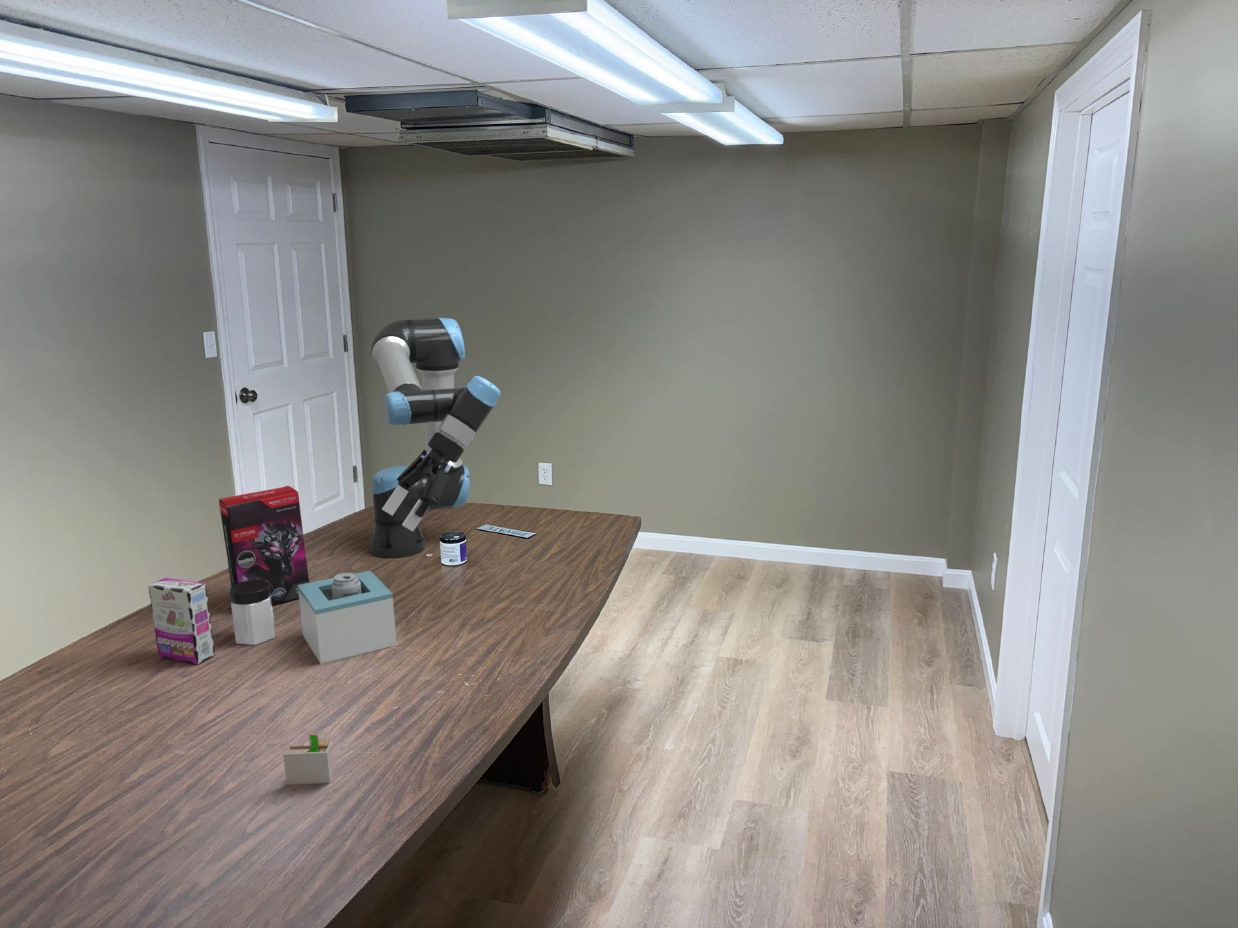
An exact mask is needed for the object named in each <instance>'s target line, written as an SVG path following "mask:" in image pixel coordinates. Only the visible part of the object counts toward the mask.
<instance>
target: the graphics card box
mask: <svg viewBox="0 0 1238 928" xmlns="http://www.w3.org/2000/svg"><path fill="white" fill-rule="evenodd" d="M218 507H219V512H220V517H221V518H220V519H221V525H222V531H223V537H224V538H223V539H224V544H225V551H226V557H227V565H228V572H229V573H228V574H229V580H230V588H231V587H232V586H233V585H235V584H237V583H240V582H244V581H249V580H264V581H267V582H269V584H270V589H271V601H272V606H273V605H277V604H281V603H285V602H287V601H288V602H289V601H293V600H295V599H299V593H298V585H301V584H306V583H310V578H309V570H308V562H307V555H306V545H305V539H304V538H305V537H304V529H303V520H302V514H301V504H300V495H299V491H297V490H296V489H295V488H294V487H292V486H290V485H285V486H282V487H278V488H271V489H267V490H259V491H254V492H249V493H243V494H238V495H233V496H228V497H222V498H219V499H218Z"/></svg>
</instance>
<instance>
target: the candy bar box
mask: <svg viewBox="0 0 1238 928" xmlns="http://www.w3.org/2000/svg"><path fill="white" fill-rule="evenodd" d="M147 586H148V592H149V593H148V594H149V601H150V605H151V611H152V621H153V626H154V634H155V641H156V647H157V648H156V649H157V653H158V658H163V659H168V660H172V661H178V662H183V663H188V664H193V665H199V664H201V663H204V662H205V661H207V660H210V659H212V658H213V657H214V656H216V653H215V645H214V637H213V629H212V621H211V615H210V613H211V612H210V605H209V598H208V591H207V583H206V582H205V583H204V582H197V581H190V580H183V579H176V578H170V577H165V578H162V579H160V580H157V581H155V582H153V583H150V584H147Z"/></svg>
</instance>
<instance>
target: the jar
mask: <svg viewBox="0 0 1238 928" xmlns="http://www.w3.org/2000/svg"><path fill="white" fill-rule="evenodd" d="M229 594H230V601H231V603H230V607H231V615H232V621H233V631H234V638H235V639H234V640H235V644H237V645H250V646H256V645H259V644H262V643H265V642H267V641H271V640H272V639H274V638H275V632H276V631H275V630H276V629H275V620H274V619H275V618H274V609H273V605H272V601H271V589H270V584H269V582H267V581H264V580H249V581H244V582H240V583H237V584H235V585H233V586H232V587H231V586H230V588H229Z"/></svg>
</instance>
